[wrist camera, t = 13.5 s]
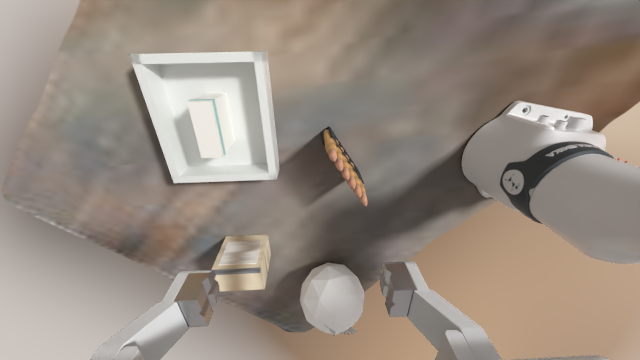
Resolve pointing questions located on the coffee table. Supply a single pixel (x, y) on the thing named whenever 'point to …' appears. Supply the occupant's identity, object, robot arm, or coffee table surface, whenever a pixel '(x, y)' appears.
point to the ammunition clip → (344, 164)
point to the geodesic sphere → (332, 298)
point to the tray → (244, 106)
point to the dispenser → (242, 263)
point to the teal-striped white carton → (212, 124)
